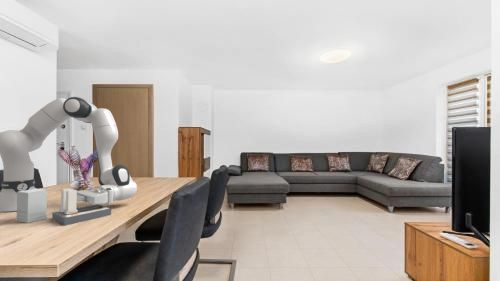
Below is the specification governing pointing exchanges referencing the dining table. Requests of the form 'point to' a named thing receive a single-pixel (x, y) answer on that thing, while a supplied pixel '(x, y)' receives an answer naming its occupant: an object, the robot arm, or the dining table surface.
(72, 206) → the switch knob
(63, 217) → the switch panel
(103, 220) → the dining table surface
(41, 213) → the supplement box
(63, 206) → the switch knob
